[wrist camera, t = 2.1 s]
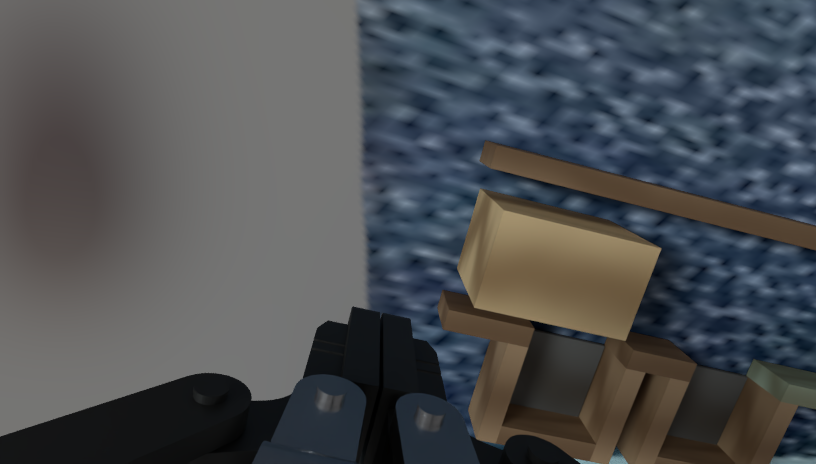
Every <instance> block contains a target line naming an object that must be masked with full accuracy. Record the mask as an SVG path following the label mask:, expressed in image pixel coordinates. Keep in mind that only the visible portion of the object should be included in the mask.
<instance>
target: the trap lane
mask: <svg viewBox="0 0 816 464" xmlns="http://www.w3.org/2000/svg"><path fill="white" fill-rule="evenodd" d="M480 162H482V163H483V164H485V165H486V166H488V167H489V168H492V169H496V170H500V171H504V172H508V173H512V174H516V175H519V176H523V177H527V178H531V179H535V180H539V181H543V182H547V183H551V184H555V185H559V186H563V187H567V188H571V189H575V190H579V191H583V192H587V193H591V194H595V195H599V196H603V197H607V198H611V199H615V200H619V201H623V202H627V203H630V204H634V205H638V206H642V207H646V208H650V209H654V210H658V211H662V212H666V213H670V214H674V215H678V216H682V217H686V218H690V219H694V220H698V221H702V222H706V223H710V224H714V225H718V226H722V227H726V228H730V229H734V230H737V231H741V232H745V233H749V234H753V235H757V236H761V237H765V238H769V239H773V240H777V241H781V242H785V243H789V244H793V245H797V246H801V247H805V248H809V249H813V250H816V226H815V225H812V224H808V223H804V222H800V221H796V220H792V219H788V218H784V217H781V216H777V215H773V214H769V213H765V212H761V211H757V210H753V209H750V208H746V207H742V206H738V205H734V204H730V203H726V202H722V201H719V200H715V199H711V198H707V197H703V196H699V195H695V194H691V193H688V192H684V191H680V190H676V189H672V188H668V187H664V186H660V185H657V184H653V183H649V182H645V181H641V180H637V179H633V178H629V177H626V176H622V175H618V174H614V173H610V172H606V171H602V170H599V169H595V168H591V167H587V166H583V165H579V164H575V163H571V162H568V161H564V160H560V159H556V158H552V157H548V156H544V155H540V154H537V153H533V152H529V151H525V150H521V149H517V148H513V147H509V146H506V145H502V144H498V143H494V142H490V141H486V140H485V144H484V147H483V151H482V154H481V158H480ZM438 312H439V316H440V320H441V323H442V327H443V330H448V331H453V332H457V333H462V334H467V335H471V336H476V337H481V338H485V339H490V343H489V346H488V349H487V352H486V355H485V359H484V362H483V365H482V368H481V371H480V374H479V377H478V380H477V384H476V387H475V390H474V393H473V396H472V399H471V402H470V406H469V409H468V411H469V414H470V418H471V422H472V425H473V429H474V433H475V436H476V439H477V440H481V441H486V442H491V443H497V444H502V445H505V443H506V441H507V440H508V439H509V438H510V437H512V436H515V435H521V434H523V435H532V436H536V437H539V438H542V439H544V440H546V441H549V442H551V443H552V444H554V445H556V446H557V447H559V448H560V449H562V450H563V451H564V452H566V453H567V454H568V455H570V456H571V457H572V458H575V459H580V460H585V461H591V462H596V463H601V464H609V461H610V459H611V456H612V454H613V451H614V449H615V447H616V446H617V447H618V449H619V450H620V452H621V453H622V455H623V456H624V458H625V459H626V461H627V462H628V464H770V462H771V460H772V458H773V456H774V454H775V452H776V450H777V448H778V446H779V444H780V442H781V440H782V438H783V436H784V434H785V432H786V430H787V428H788V426H789V424H790V422H791V420H792V418H793V416H794V414H795V412H796V410H797V408H798V406H803V407H808V408H812V409H816V373H813V372H809V371H804V370H800V369H795V368H791V367H786V366H782V365H778V364H773V363H769V362H764V361H760V360H755V359H753V361H752V363H751V366H750V368H749V370H748V372H747V374H746V376H745V375H742V374H738V373H733V372H729V371H724V370H719V369H715V368H710V367H706V366H701V365H697V364H696V363H695V362H694V361H693V360H692V359H691V358H689V357H688V356H687V355H686V354H685V353H683V352H682V351H681V350H680V349H679V348H678V347H676V346H675V345H674V344H673V343H672V342H670V341H669V340H665V339H661V338H656V337H652V336H647V335H643V334H638V333H634V332H629V333H628V336H627V339H626V341H623V340H619V339H614V338H610V337H607V339H606V342H605V344H604V345H603V344H601V343H596V342H591V341H587V340H582V339H578V338H573V337H569V336H564V335H559V334H555V333H550V332H546V331H541V330H537V329H535V328H534V327H533V325H532V324H531V322H530V321H529V320H528V319H523V318H519V317H514V316H510V315H505V314H500V313H496V312H491V311H487V310H482V309H478V308H474V306H473V304H472V301H471V299H470V297H469V296H468V295H463V294H459V293H454V292H450V291H445V290H442V294H441V297H440V301H439V304H438Z"/></svg>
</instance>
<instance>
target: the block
mask: <svg viewBox="0 0 816 464" xmlns="http://www.w3.org/2000/svg"><path fill="white" fill-rule="evenodd" d="M661 249H662V248H660V247H658V246H656V245H654V244H652V243H650V242H649V241H647V240H645V239H643V238H641V237H639V236H637V235H636V234H634V233H632V232H630V231H628V230H626V229H624V228H623V227H621V226H619V225H617V224H615V223H613V222H611V221H610V220H606V219H602V218H598V217H594V216H590V215H586V214H582V213H578V212H574V211H570V210H566V209H562V208H558V207H554V206H550V205H545V204H541V203H537V202H533V201H529V200H525V199H521V198H517V197H513V196H509V195H505V194H501V193H497V192H493V191H489V190H485V189H481V188H480V191H479V195H478V198H477V202H476V205H475V209H474V212H473V215H472V219H471V222H470V226H469V229H468V233H467V236H466V239H465V243H464V246H463V250H462V253H461V257H460V260H459V264H458V267H457V270H458V272H459V274H460V276H461V279H462V281H463V283H464V285H465V288H466V290H467V292H468V295H469V297H470V299H471V301H472V304H473V306H474V308H478V309H482V310H487V311H491V312H496V313H500V314H505V315H510V316H514V317H519V318H523V319H528V320H532V321H537V322H541V323H546V324H551V325H555V326H560V327H564V328H569V329H573V330H578V331H582V332H587V333H592V334H596V335H601V336H605V337H610V338H614V339H619V340H623V341H626V339H627V336H628V333H629V331H630V328H631V326H632V323H633V321H634V318H635V315H636V313H637V310H638V308H639V305H640V303H641V300H642V297H643V295H644V292H645V290H646V287H647V285H648V282H649V279H650V277H651V274H652V272H653V269H654V267H655V264H656V261H657V259H658V256H659V254H660V251H661Z"/></svg>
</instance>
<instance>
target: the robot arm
mask: <svg viewBox="0 0 816 464" xmlns="http://www.w3.org/2000/svg"><path fill="white" fill-rule="evenodd" d="M0 464H580V463H579V462H578V461H576V460H575V459H574V458H572V457H571V456H570V455H568V454H567V453H566V452H564V451H563V450H562V449H560V448H559V447H557V446H556V445H554V444H552V443H551V442H549V441H546V440H544V439H542V438H539V437H536V436H532V435H523V434H521V435H515V436H512V437H510V438H509V439H508V440H507V441H506V443H505V446H504V449H503V450H501V449H498V448H496V447H493V446H491V445H488V444H486V443H483V442H481V441H479V440H477V439H475V438H473V437H471V436H470V435H469V432H468V430H467V427H466V424H465V421H464V419H463V417H462V415H461V413H460V412H459V411H458V410H457V409H456V408H455V407H454V406H453V405H451V404H450V403H448V402H447V399H446V395H445V390H444V385H443V381H442V376H441V371H440V367H439V362H438V357H437V353H436V352H435V350H434V349H433V348H432V347H431V346H430V345H429V343H428V342H427V341H423V340H418V339H414V338H413V336H412V328H411V320H410V319H409V318H404V317H400V316H395V315H390V314H386V313H382V315H381V318H380V312H376V311H371V310H367V309H362V308H357V307H352V309H351V313H350V317H349V321H348V325H347V324H342V323H337V322H332V321H327V322H325V323H324V324H322V325H321V326H319V327H318V328H317V330H316V334H315V337H314V341H313V345H312V348H311V351H310V355H309V358H308V362H307V365H306V369H305V372H304V376H303V379H302V380H300V381H299V382H298V383H297V384H296V386H295V388H294V390H293V393H292V394H291V395H289V396H286V397H284V398H280V399H275V400H268V401H251V393H250V390H249V389H248V387H247V386H246V385H245V384H244V383H242V382H241V381H239V380H237V379H235V378H233V377H230V376H227V375H222V374H216V373H215V374H214V373H201V374H195V375H190V376H186V377H183V378H180V379H177V380H174V381H171V382H168V383H165V384H162V385H159V386H156V387H152V388H149V389H146V390H143V391H140V392H137V393H134V394H131V395H128V396H125V397H122V398H118V399H115V400H112V401H109V402H106V403H103V404H100V405H97V406H94V407H90V408H87V409H85V410H81V411H78V412H75V413H72V414H69V415H66V416H63V417H59V418H56V419H53V420H50V421H47V422H44V423H41V424H38V425H35V426H32V427H28V428H25V429H22V430H19V431H16V432H13V433H10V434H7V435H4V436H1V437H0Z"/></svg>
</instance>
